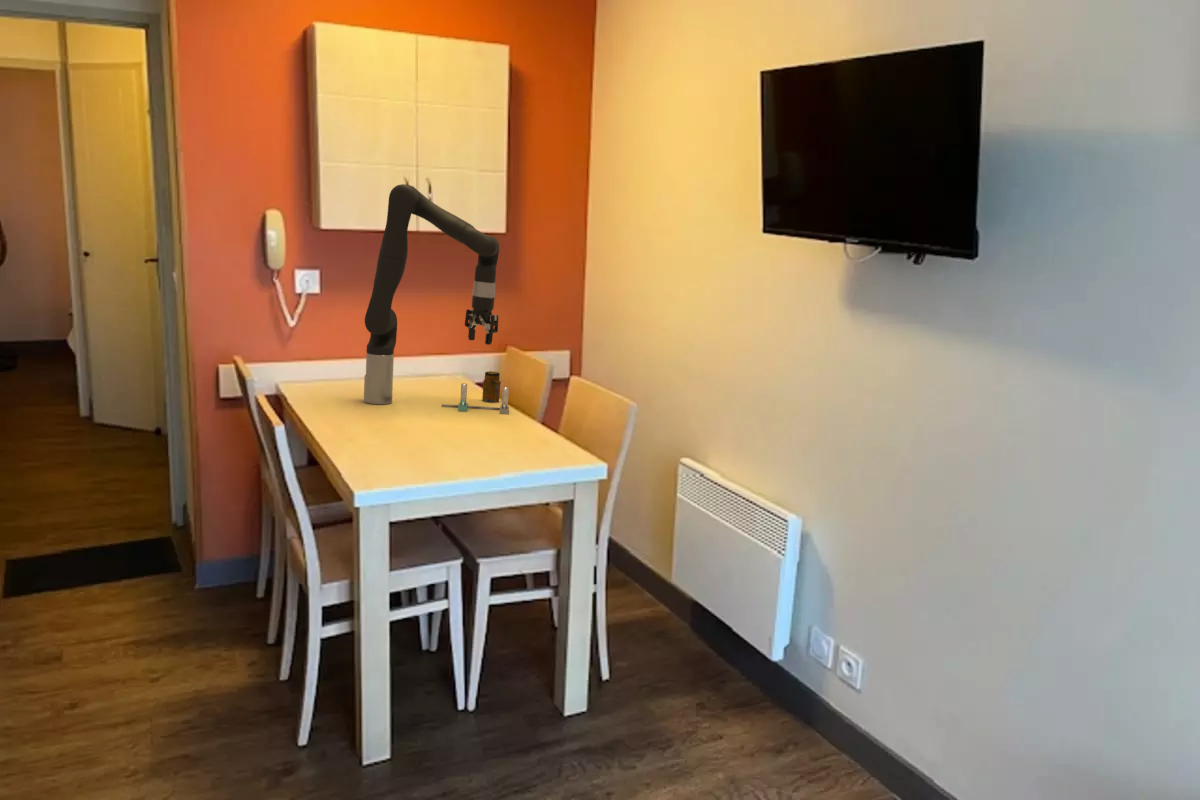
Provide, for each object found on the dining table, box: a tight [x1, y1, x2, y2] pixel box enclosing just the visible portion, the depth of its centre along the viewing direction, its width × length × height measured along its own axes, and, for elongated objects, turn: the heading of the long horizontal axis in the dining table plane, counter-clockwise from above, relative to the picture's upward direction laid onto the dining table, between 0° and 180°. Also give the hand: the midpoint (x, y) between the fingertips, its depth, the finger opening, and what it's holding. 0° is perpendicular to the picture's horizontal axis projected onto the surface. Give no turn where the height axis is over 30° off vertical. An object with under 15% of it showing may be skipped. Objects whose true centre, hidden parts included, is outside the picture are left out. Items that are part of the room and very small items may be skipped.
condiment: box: [481, 370, 501, 404], centre depth 335 cm, size 7×8×12 cm
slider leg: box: [457, 382, 469, 413], centre depth 317 cm, size 3×5×9 cm, turn 4°
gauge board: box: [441, 403, 500, 411], centre depth 317 cm, size 24×14×2 cm, turn 94°
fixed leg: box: [499, 386, 510, 415], centre depth 318 cm, size 3×5×9 cm, turn 4°
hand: (479, 342), depth 321 cm, fingers open, 8 cm apart
